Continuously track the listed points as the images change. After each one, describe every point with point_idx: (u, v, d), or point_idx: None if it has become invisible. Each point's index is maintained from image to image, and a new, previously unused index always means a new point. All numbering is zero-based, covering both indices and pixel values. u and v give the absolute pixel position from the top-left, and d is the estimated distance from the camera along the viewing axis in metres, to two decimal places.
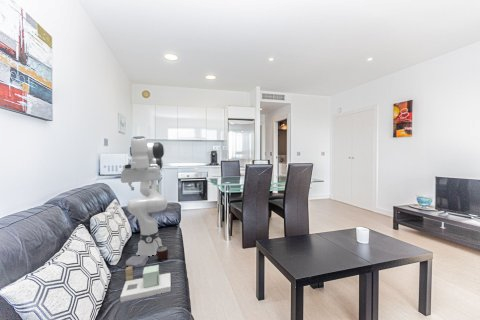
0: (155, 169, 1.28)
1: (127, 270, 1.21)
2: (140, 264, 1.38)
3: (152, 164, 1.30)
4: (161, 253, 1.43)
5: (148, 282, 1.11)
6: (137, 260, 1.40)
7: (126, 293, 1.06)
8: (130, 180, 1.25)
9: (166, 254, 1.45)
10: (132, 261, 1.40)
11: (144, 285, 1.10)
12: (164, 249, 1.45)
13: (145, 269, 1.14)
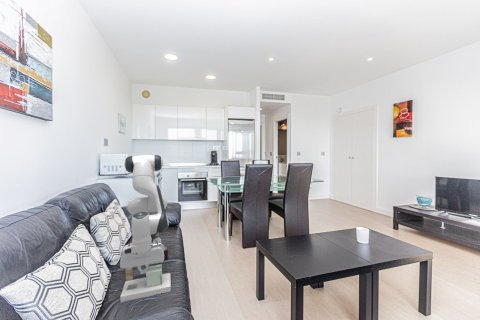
0: (159, 250, 1.14)
1: (127, 270, 1.21)
2: None
3: (155, 243, 1.15)
4: None
5: (151, 282, 1.11)
6: None
7: (126, 293, 1.06)
8: (130, 265, 1.10)
9: (166, 254, 1.45)
10: None
11: (147, 284, 1.11)
12: (164, 249, 1.45)
13: (148, 268, 1.15)
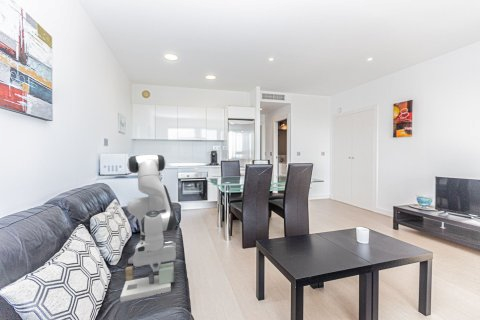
0: (171, 248, 1.15)
1: (127, 270, 1.21)
2: None
3: (167, 242, 1.17)
4: None
5: (163, 279, 1.13)
6: None
7: (126, 293, 1.06)
8: (143, 263, 1.12)
9: None
10: None
11: (160, 282, 1.12)
12: None
13: (160, 266, 1.16)
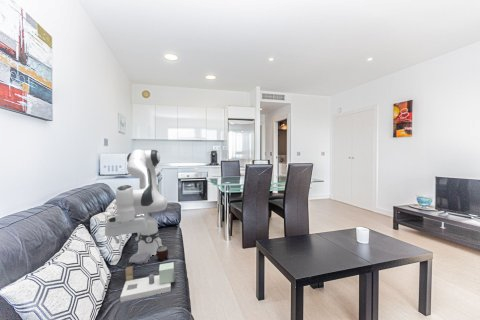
0: (141, 220, 1.22)
1: (127, 270, 1.21)
2: (143, 261, 1.42)
3: (138, 214, 1.24)
4: (161, 253, 1.43)
5: (164, 279, 1.13)
6: (140, 257, 1.44)
7: (126, 293, 1.06)
8: (115, 233, 1.19)
9: (166, 254, 1.45)
10: (135, 258, 1.44)
11: (160, 282, 1.12)
12: (164, 249, 1.45)
13: (161, 266, 1.16)
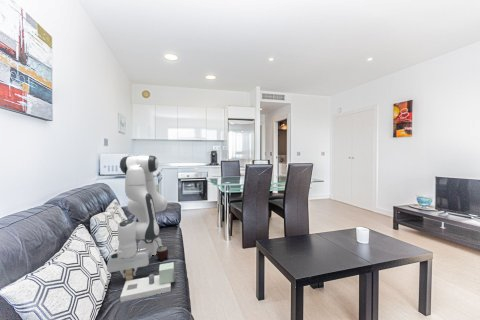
0: (143, 255, 1.23)
1: (127, 270, 1.21)
2: None
3: (140, 249, 1.24)
4: (161, 253, 1.43)
5: (164, 279, 1.13)
6: None
7: (126, 293, 1.06)
8: (117, 269, 1.19)
9: (166, 254, 1.45)
10: None
11: (160, 282, 1.12)
12: (164, 249, 1.45)
13: (161, 266, 1.16)
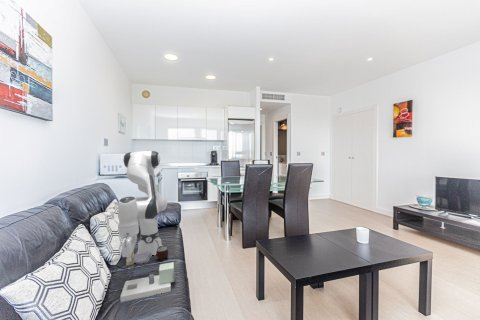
0: (122, 242, 1.03)
1: None
2: (144, 261, 1.42)
3: (126, 234, 1.05)
4: (161, 253, 1.43)
5: (164, 279, 1.13)
6: (141, 257, 1.44)
7: (126, 293, 1.06)
8: None
9: (166, 254, 1.45)
10: (136, 258, 1.44)
11: (160, 282, 1.12)
12: (164, 249, 1.45)
13: (161, 266, 1.16)
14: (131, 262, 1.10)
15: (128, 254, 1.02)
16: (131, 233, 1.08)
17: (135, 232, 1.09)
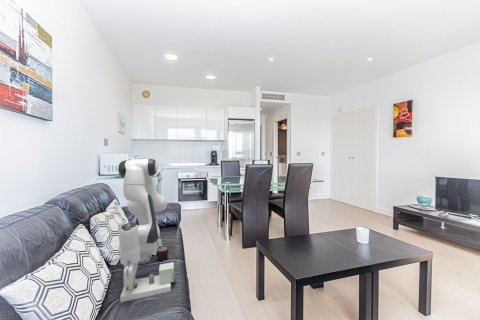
0: None
1: None
2: (145, 261, 1.42)
3: (128, 263, 1.05)
4: (161, 253, 1.43)
5: (164, 279, 1.13)
6: (141, 257, 1.44)
7: (126, 293, 1.06)
8: None
9: (166, 254, 1.45)
10: None
11: (160, 282, 1.12)
12: (164, 249, 1.45)
13: (161, 266, 1.16)
14: None
15: (130, 283, 1.02)
16: (133, 260, 1.08)
17: (137, 259, 1.10)
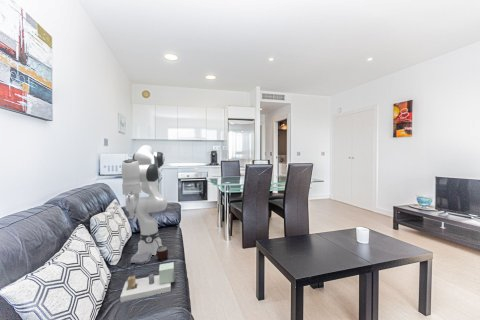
0: None
1: (128, 279, 1.12)
2: (146, 260, 1.42)
3: (129, 191, 1.14)
4: (161, 253, 1.43)
5: (164, 279, 1.13)
6: (142, 257, 1.44)
7: (126, 293, 1.06)
8: None
9: (166, 254, 1.45)
10: (137, 258, 1.43)
11: (160, 282, 1.12)
12: (164, 249, 1.45)
13: (161, 266, 1.16)
14: None
15: (131, 208, 1.11)
16: (134, 191, 1.16)
17: (137, 191, 1.18)
